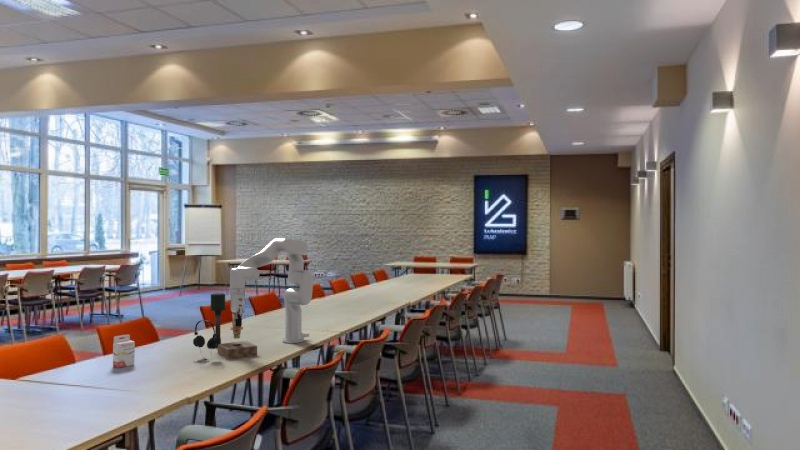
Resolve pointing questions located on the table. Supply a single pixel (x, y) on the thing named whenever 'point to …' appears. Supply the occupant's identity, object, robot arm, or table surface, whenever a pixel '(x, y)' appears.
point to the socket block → (237, 349)
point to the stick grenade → (218, 311)
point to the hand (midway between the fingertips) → (236, 325)
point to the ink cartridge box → (123, 351)
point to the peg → (236, 328)
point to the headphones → (200, 340)
